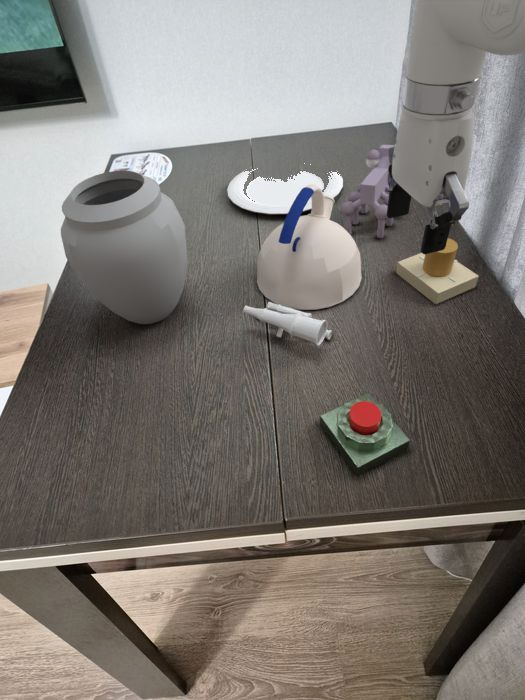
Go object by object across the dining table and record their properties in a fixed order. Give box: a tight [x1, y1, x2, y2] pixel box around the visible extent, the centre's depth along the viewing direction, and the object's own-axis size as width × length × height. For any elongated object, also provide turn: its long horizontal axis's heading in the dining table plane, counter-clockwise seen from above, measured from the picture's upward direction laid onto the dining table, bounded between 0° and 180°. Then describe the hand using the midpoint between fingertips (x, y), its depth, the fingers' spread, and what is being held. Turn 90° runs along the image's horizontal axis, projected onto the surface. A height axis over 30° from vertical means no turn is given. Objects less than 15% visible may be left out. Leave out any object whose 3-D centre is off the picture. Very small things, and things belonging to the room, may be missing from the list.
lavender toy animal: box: [340, 144, 395, 239], centre depth 94 cm, size 20×11×14 cm, turn 150°
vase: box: [60, 170, 188, 325], centre depth 74 cm, size 20×20×24 cm
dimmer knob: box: [423, 237, 459, 277], centre depth 78 cm, size 5×5×5 cm
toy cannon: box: [242, 301, 333, 347], centre depth 72 cm, size 8×14×5 cm
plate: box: [226, 163, 344, 216], centre depth 110 cm, size 29×29×2 cm
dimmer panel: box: [395, 252, 480, 305], centre depth 80 cm, size 11×9×3 cm
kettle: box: [256, 184, 363, 311], centre depth 79 cm, size 20×21×18 cm
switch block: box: [319, 392, 411, 476], centre depth 58 cm, size 9×8×4 cm
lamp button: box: [349, 401, 381, 434], centre depth 56 cm, size 4×4×2 cm
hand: (413, 232), depth 60 cm, fingers open, 9 cm apart
